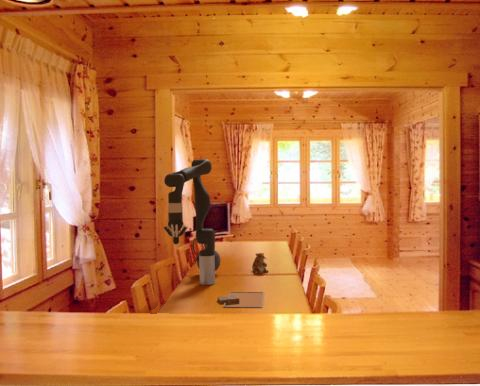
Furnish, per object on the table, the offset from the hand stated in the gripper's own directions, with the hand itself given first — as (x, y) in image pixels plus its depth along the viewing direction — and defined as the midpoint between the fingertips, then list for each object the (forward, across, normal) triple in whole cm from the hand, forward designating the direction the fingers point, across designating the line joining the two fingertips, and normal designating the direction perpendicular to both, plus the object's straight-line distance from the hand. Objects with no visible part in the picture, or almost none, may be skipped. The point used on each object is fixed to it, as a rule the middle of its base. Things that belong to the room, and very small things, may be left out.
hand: (176, 244), depth 224 cm
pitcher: (+29, +2, -57) cm, 64 cm away
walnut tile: (+28, -24, +3) cm, 37 cm away
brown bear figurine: (+29, -31, -71) cm, 83 cm away
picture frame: (+30, -36, -3) cm, 47 cm away
